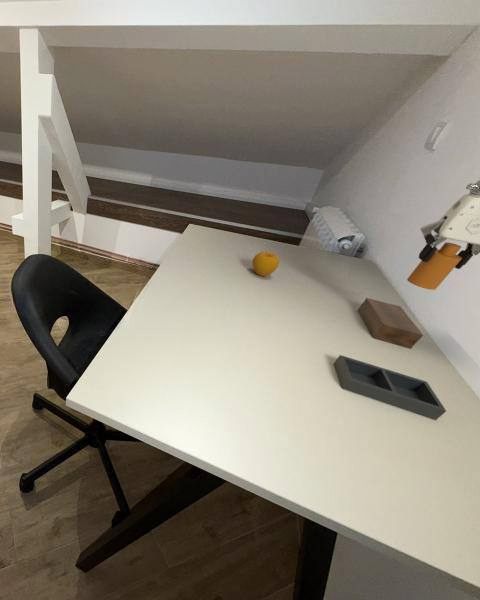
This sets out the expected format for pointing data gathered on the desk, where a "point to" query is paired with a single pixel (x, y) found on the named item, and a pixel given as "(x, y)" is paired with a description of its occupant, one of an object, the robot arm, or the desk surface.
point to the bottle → (436, 267)
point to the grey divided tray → (388, 387)
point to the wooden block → (389, 323)
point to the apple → (265, 263)
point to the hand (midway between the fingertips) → (438, 262)
